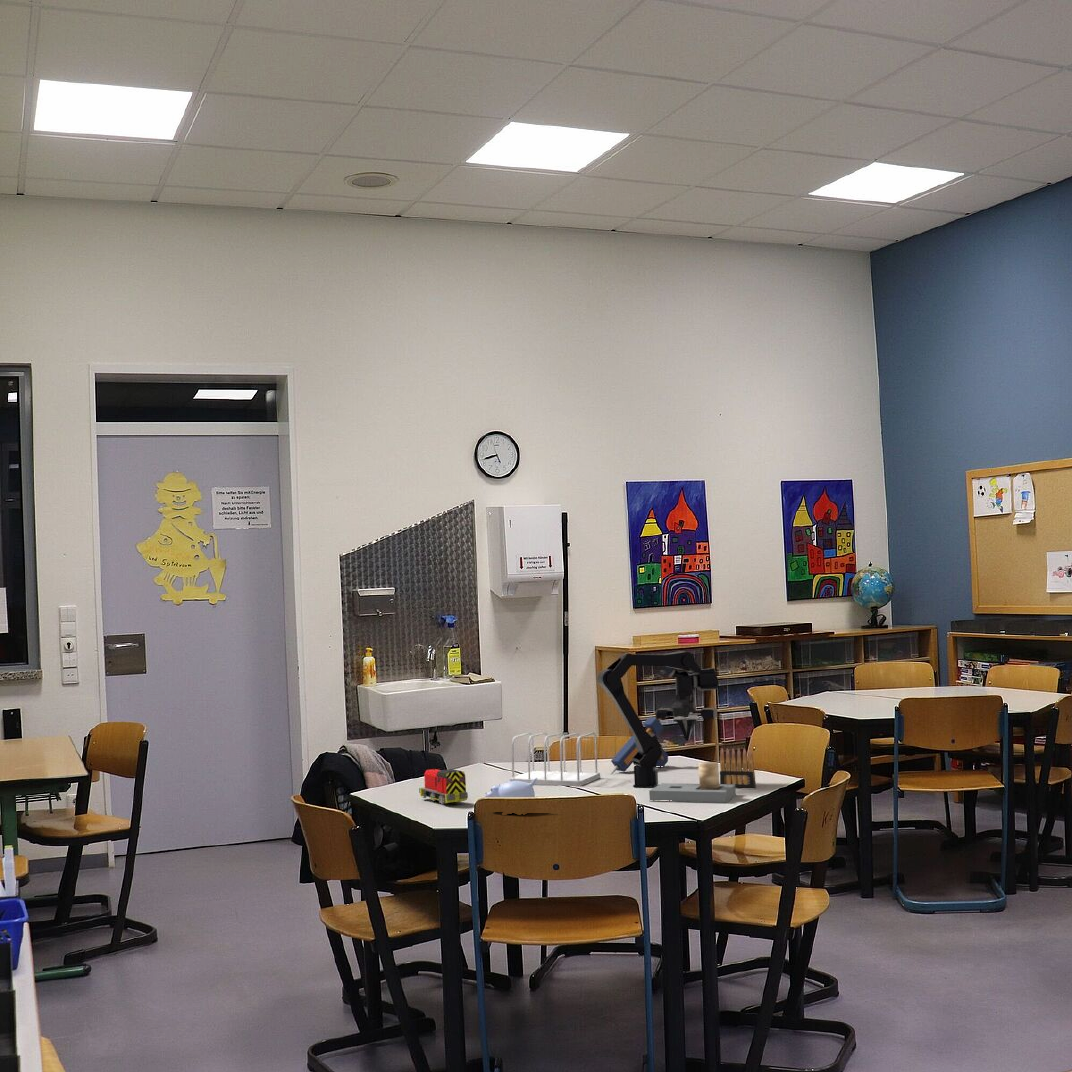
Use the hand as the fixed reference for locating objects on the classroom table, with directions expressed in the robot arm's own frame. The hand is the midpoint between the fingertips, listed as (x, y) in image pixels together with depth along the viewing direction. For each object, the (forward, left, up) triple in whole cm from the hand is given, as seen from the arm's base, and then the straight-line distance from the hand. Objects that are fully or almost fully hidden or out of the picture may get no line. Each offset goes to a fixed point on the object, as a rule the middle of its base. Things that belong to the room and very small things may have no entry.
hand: (687, 741), depth 369 cm
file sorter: (-45, -1, -13) cm, 47 cm away
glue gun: (-24, +26, -13) cm, 38 cm away
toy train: (-64, -44, -13) cm, 79 cm away
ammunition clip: (+17, -8, -13) cm, 23 cm away
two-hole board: (+8, -28, -13) cm, 32 cm away
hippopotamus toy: (-36, -57, -13) cm, 69 cm away
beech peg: (+13, -28, -13) cm, 33 cm away
